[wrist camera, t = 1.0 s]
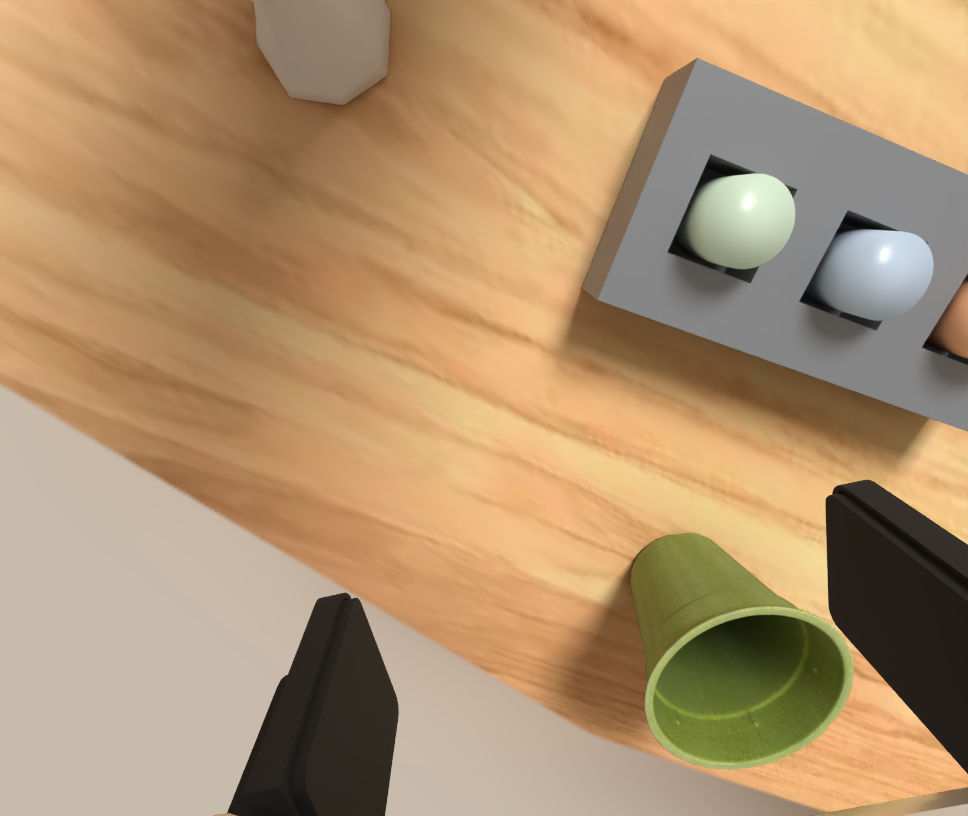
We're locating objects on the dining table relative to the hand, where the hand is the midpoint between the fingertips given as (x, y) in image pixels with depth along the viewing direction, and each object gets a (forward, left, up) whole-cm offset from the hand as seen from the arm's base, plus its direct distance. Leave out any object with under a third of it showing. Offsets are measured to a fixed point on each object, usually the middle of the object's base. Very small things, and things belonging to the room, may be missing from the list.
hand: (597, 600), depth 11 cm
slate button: (-10, +16, -23) cm, 30 cm away
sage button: (-10, +8, -23) cm, 27 cm away
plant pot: (+13, +18, -26) cm, 34 cm away
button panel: (-10, +16, -26) cm, 32 cm away
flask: (-12, -15, -26) cm, 32 cm away
